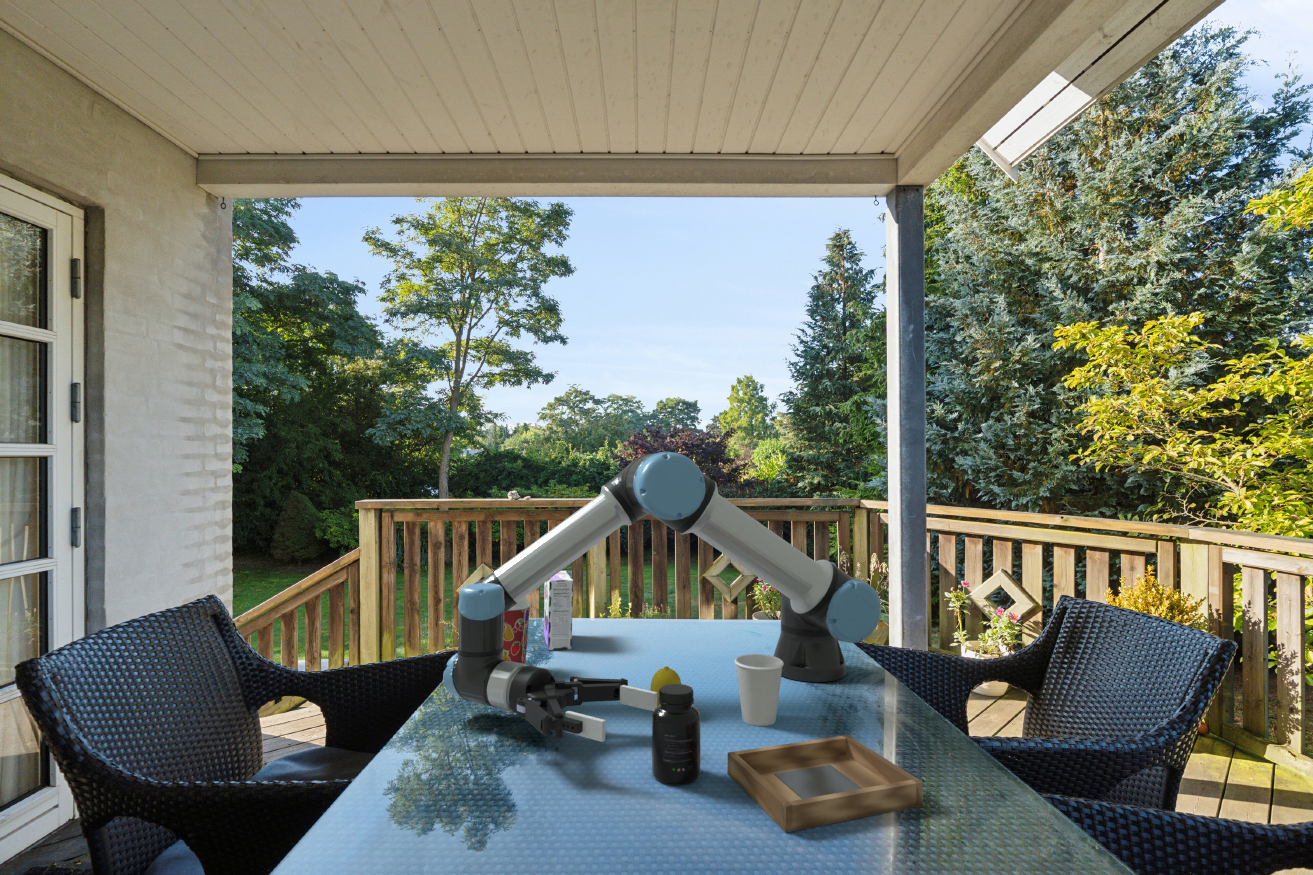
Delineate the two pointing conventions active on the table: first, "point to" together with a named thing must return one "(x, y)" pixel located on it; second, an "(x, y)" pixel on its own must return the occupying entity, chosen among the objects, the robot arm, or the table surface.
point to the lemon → (663, 680)
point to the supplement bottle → (676, 736)
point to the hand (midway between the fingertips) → (631, 715)
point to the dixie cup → (759, 687)
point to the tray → (823, 782)
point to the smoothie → (516, 632)
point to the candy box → (558, 611)
